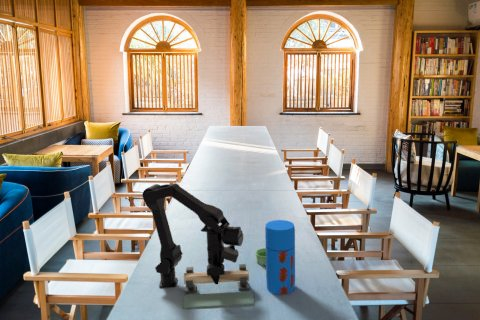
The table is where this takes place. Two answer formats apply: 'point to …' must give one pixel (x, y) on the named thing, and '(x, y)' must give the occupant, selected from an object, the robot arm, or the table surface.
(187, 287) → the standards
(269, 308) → the table surface
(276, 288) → the thermos
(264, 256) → the ramekin
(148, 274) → the table surface
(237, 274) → the rail
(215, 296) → the mat
